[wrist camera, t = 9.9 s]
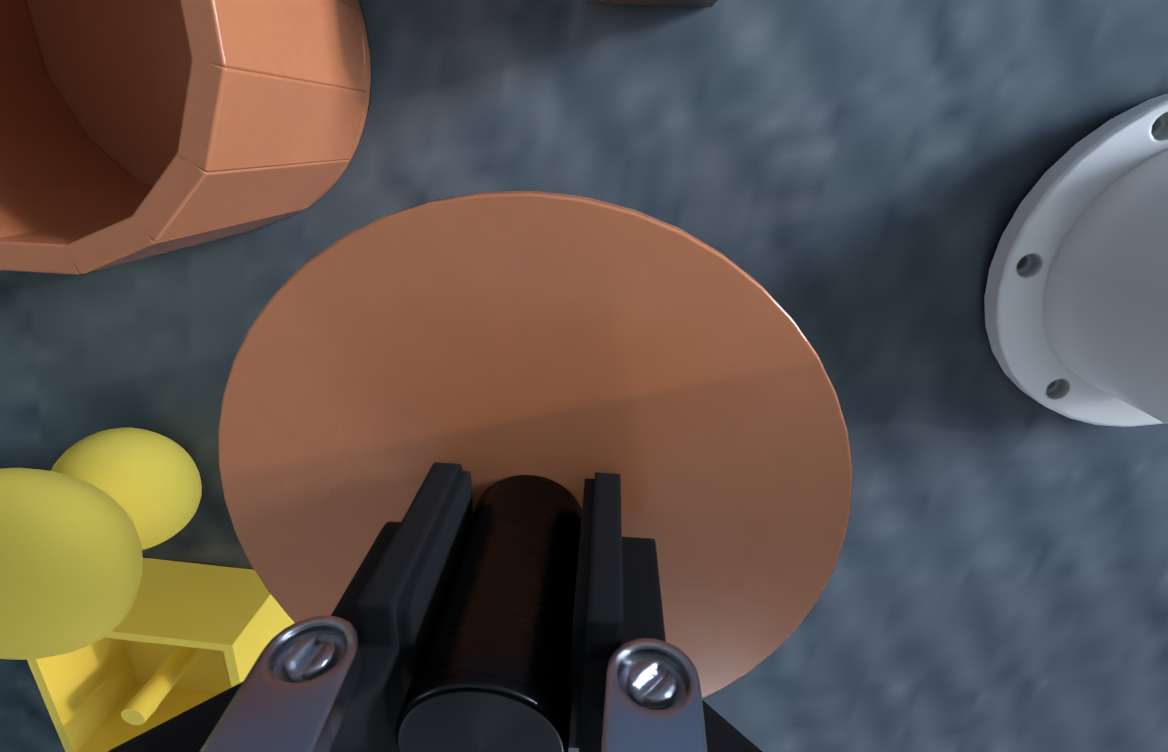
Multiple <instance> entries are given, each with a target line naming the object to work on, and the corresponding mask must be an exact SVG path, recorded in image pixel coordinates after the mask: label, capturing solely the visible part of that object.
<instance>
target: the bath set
mask: <svg viewBox="0 0 1168 752" xmlns="http://www.w3.org/2000/svg"><path fill="white" fill-rule="evenodd" d="M201 496H202V485H201V478H200V474H199V471H198V469H197V467H196V464H195V462H194V461H193V459H192V458H191V456H190V455H189V454H188V453H187V452H186V451H185V449H183V448H182V447H181V446H180V445H179V444H177V443H176V442H174V441H173V440H171V439H169V438H167V437H165V436H163V435H160V434H158V433H155V432H152V431H148V430H144V429H139V428H130V427H127V428H115V429H107V430H104V431H100V432H97V433H95V434H92V435H90V436H87V437H85V438H84V439H82V440H80V441H78V442H77V443H76V444H74V445H73V446H71V447H70V448H69V449H67V450H66V451H65V453H64V454H63V455H62V456H61V457H60V458H59V459H58V460H57V462H56V463H55V464H54V465H53V467H52V469H51V471H48V470H39V469H30V468H20V467H19V468H2V469H0V659H19V660H24V659H27V661H28V664H29V666H30V669H31V671H32V673H33V676H34V678H35V680H36V683H37V685H38V688H39V690H40V692H41V695H42V697H43V699H44V702H45V704H46V707H47V709H48V711H49V714H50V716H51V719H52V721H53V723H54V726H55V728H56V730H57V733H58V735H59V738H60V740H61V742H62V745H63V747H64V749H65V752H108V751H110V750H111V749H113V748H115V747H117V746H119V745H121V744H123V743H125V742H127V741H129V740H130V739H132V738H134V737H136V736H138V735H140V734H142V733H144V732H146V731H148V730H150V729H152V728H154V727H156V726H158V725H160V724H162V723H163V722H165V721H167V720H169V719H171V718H173V717H175V716H177V715H179V714H181V713H183V712H185V711H187V710H189V709H191V708H193V707H195V706H196V705H198V704H200V703H202V702H204V701H206V700H208V699H210V698H212V697H214V696H216V695H218V694H220V693H222V692H224V691H226V690H228V689H229V688H231V687H233V686H235V685H237V684H239V683H241V682H243V681H244V679H245V678H246V676H247V675H248V673H249V671H250V670H251V668H252V667H253V665H254V663H255V662H256V660H257V659H258V657H259V655H260V654H261V652H262V651H263V649H264V648H265V647H266V645H267V644H268V643H269V642H270V641H271V639H272V638H273V637H275V636H276V635H277V634H278V633H280V632H281V631H282V630H284V629H285V628H287V627H289V626H290V625H292V624H294V621H293V620H292V619H291V618H290V617H289V616H288V614H287V613H286V612H285V611H284V610H283V608H282V607H281V606H280V605H279V604H278V602H277V601H276V600H275V599H274V598H273V596H272V595H271V594H270V593H269V591H268V590H267V588H266V587H265V585H264V584H263V582H262V581H261V579H260V578H259V576H258V574H257V573H256V571H255V570H251V569H242V568H233V567H224V566H215V565H206V564H197V563H188V562H179V561H169V560H160V559H151V558H143V550H145V549H148V548H151V547H153V546H156V545H158V544H160V543H162V542H164V541H166V540H168V539H170V538H171V537H172V536H174V535H175V534H177V533H178V532H179V531H180V530H182V529H183V528H184V527H185V526H186V525H187V524H188V522H189V521H190V520H191V519H192V517H193V516H194V514H195V513H196V511H197V508H198V506H199V503H200V500H201Z"/></svg>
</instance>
